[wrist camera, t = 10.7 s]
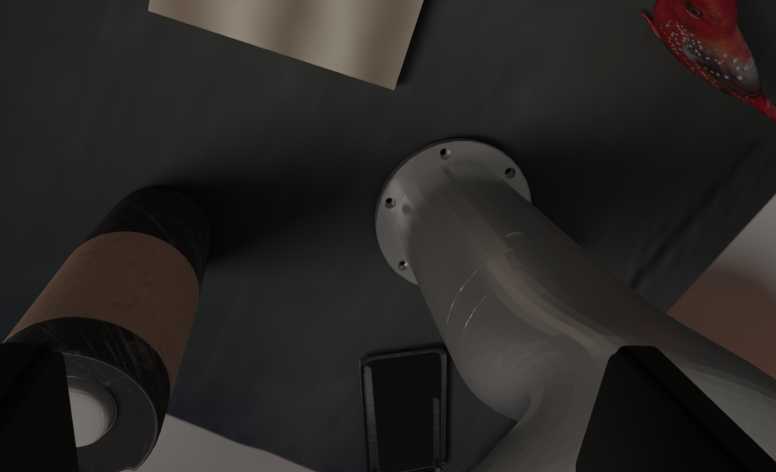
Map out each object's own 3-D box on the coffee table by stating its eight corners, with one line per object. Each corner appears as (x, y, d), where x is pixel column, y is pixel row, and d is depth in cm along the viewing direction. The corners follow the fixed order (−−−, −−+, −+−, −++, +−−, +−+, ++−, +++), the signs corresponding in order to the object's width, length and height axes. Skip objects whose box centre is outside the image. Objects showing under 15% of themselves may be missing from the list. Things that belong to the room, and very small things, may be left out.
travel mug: (125, 165, 38) (-16, 322, 20) (231, 208, 41) (189, 382, 23) (90, 256, 40) (-66, 471, 22) (193, 291, 43) (127, 510, 25)
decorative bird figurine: (615, -47, 38) (719, -58, 29) (750, 106, 45) (868, 135, 36) (587, -11, 39) (679, -11, 30) (724, 134, 45) (833, 170, 36)
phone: (368, 483, 53) (359, 358, 47) (366, 474, 54) (358, 350, 48) (446, 471, 54) (448, 346, 48) (443, 462, 55) (444, 339, 49)
